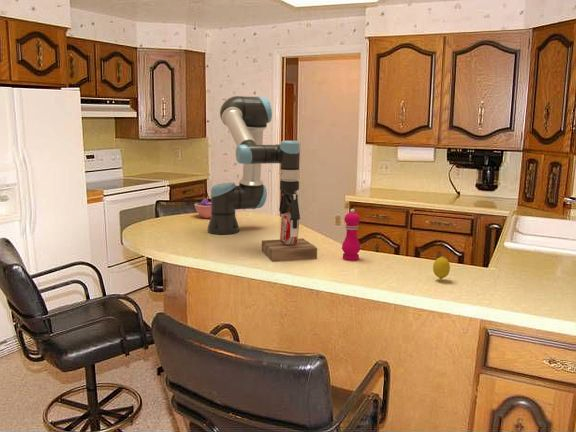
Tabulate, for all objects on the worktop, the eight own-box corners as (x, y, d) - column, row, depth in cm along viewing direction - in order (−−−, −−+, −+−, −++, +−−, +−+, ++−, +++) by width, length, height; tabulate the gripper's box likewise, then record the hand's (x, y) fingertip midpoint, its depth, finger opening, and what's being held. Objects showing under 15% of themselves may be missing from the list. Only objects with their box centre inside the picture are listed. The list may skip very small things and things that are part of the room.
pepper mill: (361, 257, 201) (363, 207, 197) (357, 261, 194) (359, 210, 191) (343, 255, 203) (345, 206, 200) (339, 260, 196) (341, 209, 193)
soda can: (296, 246, 199) (298, 217, 196) (278, 244, 200) (281, 215, 197) (298, 242, 206) (300, 213, 203) (281, 240, 206) (283, 211, 204)
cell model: (228, 221, 273) (228, 201, 271) (191, 221, 273) (191, 200, 271) (231, 216, 290) (231, 196, 288) (197, 215, 290) (196, 196, 288)
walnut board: (261, 252, 210) (261, 240, 209) (302, 249, 215) (303, 238, 214) (272, 263, 193) (272, 250, 192) (316, 260, 198) (317, 247, 197)
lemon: (429, 276, 176) (431, 254, 174) (445, 276, 176) (446, 254, 175) (435, 281, 170) (437, 258, 169) (451, 281, 171) (453, 258, 169)
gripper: (272, 177, 209) (271, 227, 213) (289, 183, 186) (288, 240, 189) (289, 176, 211) (288, 226, 215) (309, 183, 188) (307, 239, 191)
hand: (288, 233), depth 202 cm, fingers open, 13 cm apart
